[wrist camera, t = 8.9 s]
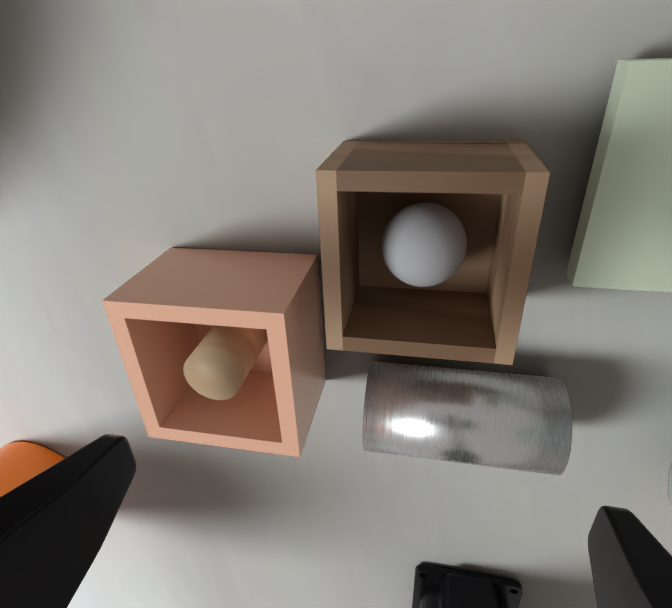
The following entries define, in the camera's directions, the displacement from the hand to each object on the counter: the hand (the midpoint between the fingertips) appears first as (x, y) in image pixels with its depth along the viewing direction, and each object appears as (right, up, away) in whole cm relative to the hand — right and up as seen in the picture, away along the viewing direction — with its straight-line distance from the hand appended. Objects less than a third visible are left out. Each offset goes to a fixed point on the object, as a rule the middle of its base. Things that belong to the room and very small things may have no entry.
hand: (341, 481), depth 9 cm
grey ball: (+3, +6, +8) cm, 10 cm away
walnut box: (+3, +7, +9) cm, 12 cm away
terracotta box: (-4, +3, +13) cm, 14 cm away
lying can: (+6, 0, +13) cm, 14 cm away
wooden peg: (-4, +2, +13) cm, 14 cm away
